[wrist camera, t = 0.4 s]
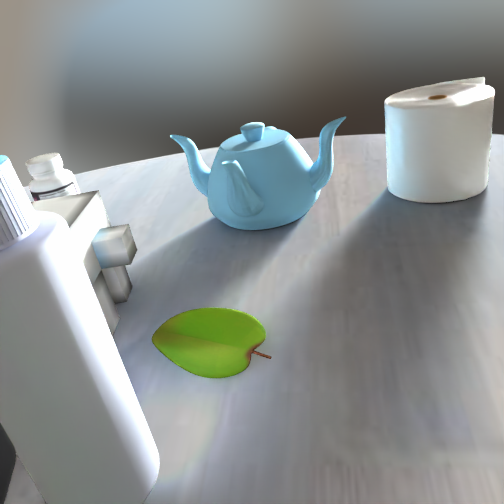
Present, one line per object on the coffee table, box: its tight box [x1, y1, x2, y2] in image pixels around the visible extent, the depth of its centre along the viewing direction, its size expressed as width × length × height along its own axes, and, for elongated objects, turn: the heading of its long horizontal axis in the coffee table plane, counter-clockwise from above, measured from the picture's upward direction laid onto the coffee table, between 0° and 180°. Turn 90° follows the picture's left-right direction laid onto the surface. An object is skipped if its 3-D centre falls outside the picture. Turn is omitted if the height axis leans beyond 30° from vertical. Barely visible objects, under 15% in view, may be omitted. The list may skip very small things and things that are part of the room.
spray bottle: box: [0, 155, 159, 504], centre depth 21 cm, size 6×6×22 cm
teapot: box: [170, 117, 346, 230], centre depth 53 cm, size 15×15×10 cm
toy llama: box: [30, 190, 137, 336], centre depth 38 cm, size 8×18×20 cm, turn 90°
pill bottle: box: [25, 153, 80, 201], centre depth 58 cm, size 5×5×10 cm
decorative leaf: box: [152, 308, 271, 378], centre depth 35 cm, size 8×9×1 cm
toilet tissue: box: [384, 77, 495, 203], centre depth 52 cm, size 11×12×10 cm
